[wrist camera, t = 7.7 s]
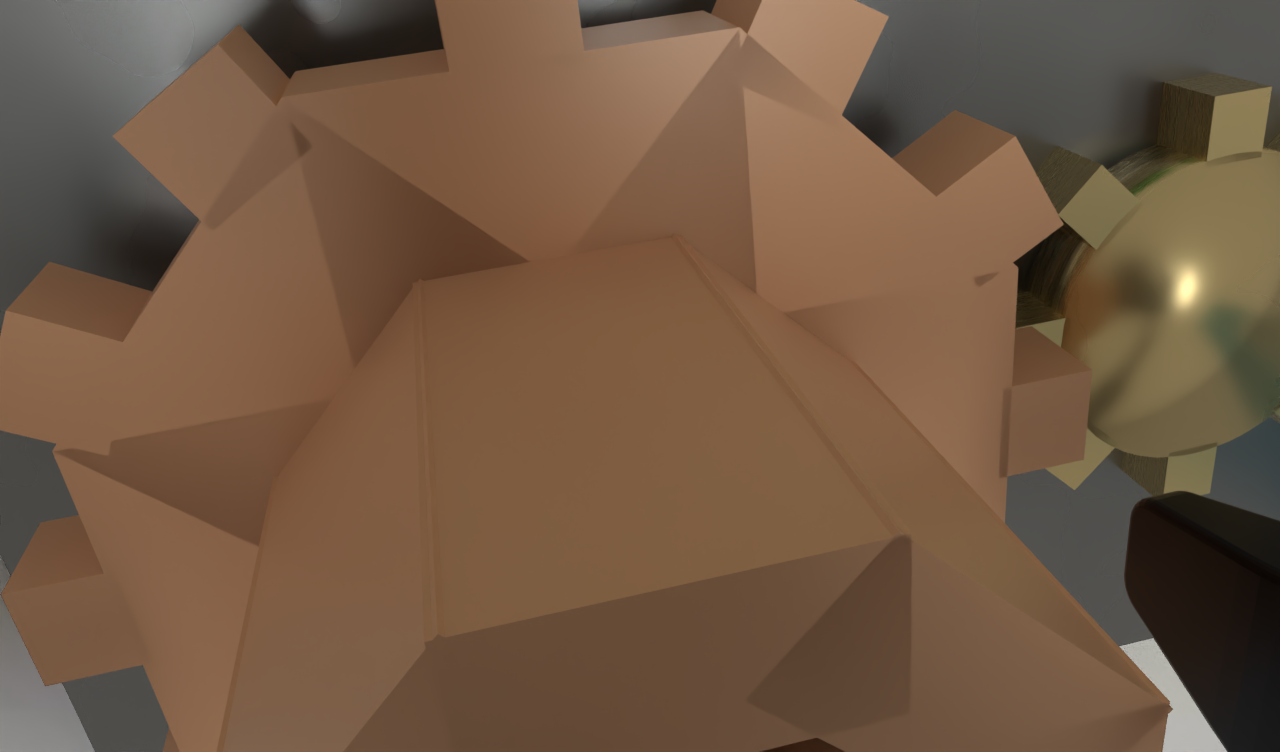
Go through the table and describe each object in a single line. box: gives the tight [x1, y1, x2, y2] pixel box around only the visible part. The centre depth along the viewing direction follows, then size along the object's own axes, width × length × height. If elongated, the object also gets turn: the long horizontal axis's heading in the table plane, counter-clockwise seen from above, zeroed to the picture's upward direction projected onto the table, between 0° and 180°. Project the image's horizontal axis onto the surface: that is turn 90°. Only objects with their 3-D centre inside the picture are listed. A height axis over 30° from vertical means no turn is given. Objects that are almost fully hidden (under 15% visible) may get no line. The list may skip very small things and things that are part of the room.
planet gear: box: [0, 0, 1173, 752], centre depth 9 cm, size 11×11×6 cm
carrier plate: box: [0, 0, 1280, 752], centre depth 11 cm, size 12×19×7 cm, turn 97°
